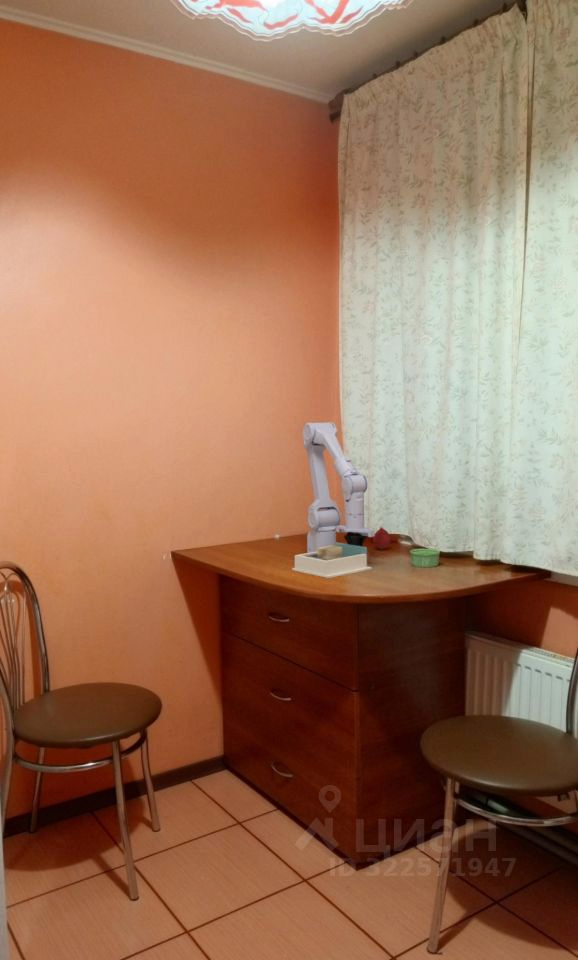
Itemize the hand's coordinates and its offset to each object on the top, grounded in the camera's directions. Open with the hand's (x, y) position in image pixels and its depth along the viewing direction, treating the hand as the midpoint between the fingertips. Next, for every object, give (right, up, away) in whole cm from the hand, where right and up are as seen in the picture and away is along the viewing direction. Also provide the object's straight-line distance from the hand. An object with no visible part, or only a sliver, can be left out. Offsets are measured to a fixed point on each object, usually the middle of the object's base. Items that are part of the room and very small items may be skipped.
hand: (355, 557), depth 232 cm
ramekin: (+21, -3, -2) cm, 21 cm away
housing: (-8, -3, -6) cm, 10 cm away
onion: (+11, 0, +25) cm, 28 cm away
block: (-8, -1, -7) cm, 11 cm away
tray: (-7, -2, -6) cm, 9 cm away
